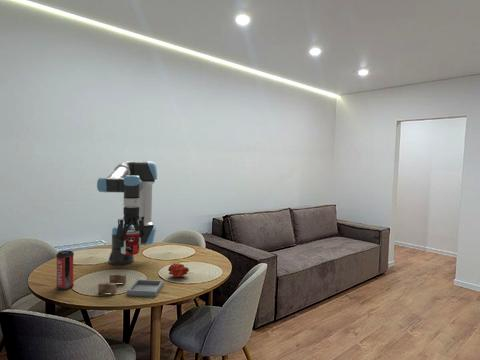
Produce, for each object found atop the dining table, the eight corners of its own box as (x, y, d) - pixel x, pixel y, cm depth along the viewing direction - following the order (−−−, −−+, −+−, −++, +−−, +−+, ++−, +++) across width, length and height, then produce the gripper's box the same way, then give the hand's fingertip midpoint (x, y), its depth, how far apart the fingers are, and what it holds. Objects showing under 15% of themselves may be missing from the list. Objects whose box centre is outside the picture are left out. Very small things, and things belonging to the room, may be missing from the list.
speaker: (77, 285, 159) (77, 250, 158) (65, 291, 151) (65, 255, 150) (64, 283, 160) (64, 249, 159) (52, 289, 153) (52, 253, 152)
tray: (126, 295, 149) (126, 290, 149) (137, 284, 163) (137, 279, 163) (155, 296, 148) (155, 291, 148) (163, 285, 162) (163, 280, 162)
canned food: (118, 253, 153) (119, 231, 152) (131, 250, 160) (131, 229, 159) (129, 256, 149) (130, 233, 148) (142, 252, 156) (142, 231, 155)
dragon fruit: (166, 278, 176) (187, 281, 176) (165, 274, 169) (187, 278, 169) (170, 264, 180) (190, 267, 181) (169, 259, 173) (190, 262, 174)
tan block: (98, 294, 149) (98, 284, 149) (111, 282, 163) (111, 273, 163) (114, 294, 149) (114, 284, 149) (126, 283, 163) (126, 274, 163)
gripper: (117, 209, 142) (116, 257, 144) (153, 205, 160) (152, 248, 161) (107, 207, 147) (107, 254, 148) (143, 203, 164) (143, 246, 165)
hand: (130, 251), depth 154 cm, fingers closed on canned food, 8 cm apart
